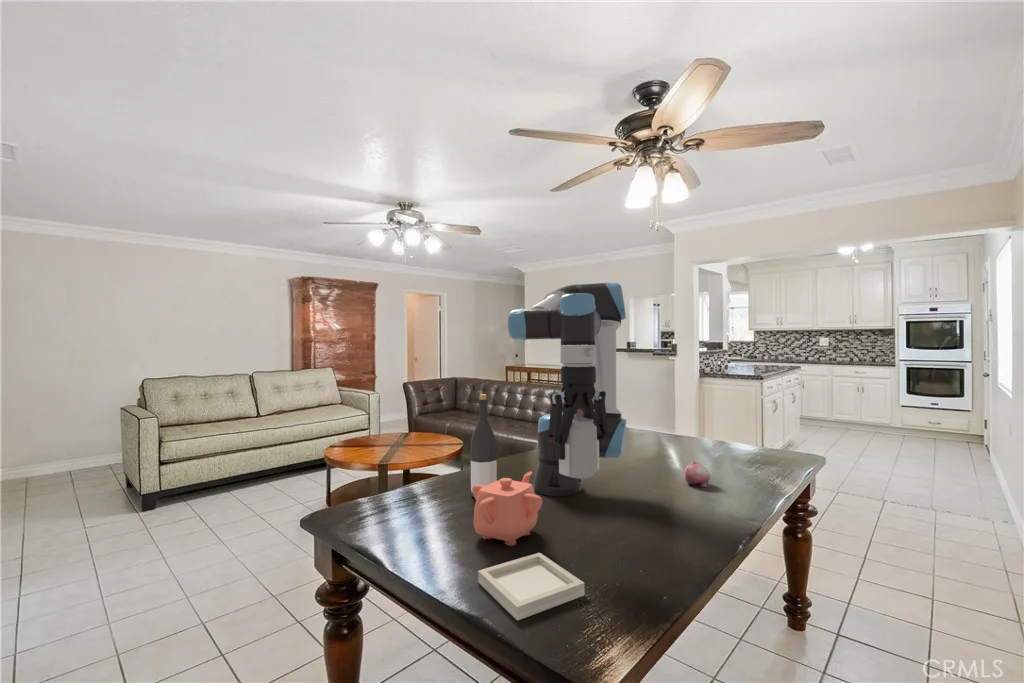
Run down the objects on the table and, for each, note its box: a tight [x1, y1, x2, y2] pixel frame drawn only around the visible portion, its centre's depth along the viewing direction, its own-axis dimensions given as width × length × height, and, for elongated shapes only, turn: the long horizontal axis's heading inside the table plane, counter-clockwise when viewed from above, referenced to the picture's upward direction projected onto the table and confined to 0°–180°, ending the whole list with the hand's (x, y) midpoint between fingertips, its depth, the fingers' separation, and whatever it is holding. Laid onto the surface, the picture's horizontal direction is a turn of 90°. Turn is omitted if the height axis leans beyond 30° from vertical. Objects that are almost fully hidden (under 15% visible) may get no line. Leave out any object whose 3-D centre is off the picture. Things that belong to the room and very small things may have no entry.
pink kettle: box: [472, 471, 543, 547], centre depth 107 cm, size 17×16×13 cm
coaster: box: [477, 552, 586, 621], centre depth 83 cm, size 14×14×2 cm
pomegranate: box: [684, 461, 711, 488], centre depth 142 cm, size 8×8×7 cm
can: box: [566, 417, 598, 479], centre depth 98 cm, size 8×8×12 cm
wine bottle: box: [470, 393, 498, 497], centre depth 135 cm, size 8×8×30 cm
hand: (579, 471), depth 97 cm, fingers closed on can, 7 cm apart
